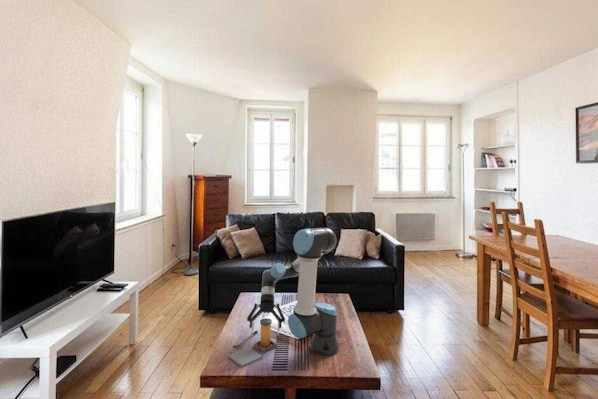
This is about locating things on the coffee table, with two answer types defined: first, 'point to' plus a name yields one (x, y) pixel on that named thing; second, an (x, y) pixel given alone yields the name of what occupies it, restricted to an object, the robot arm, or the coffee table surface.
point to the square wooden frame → (265, 348)
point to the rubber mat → (245, 357)
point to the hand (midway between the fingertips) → (265, 334)
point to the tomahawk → (245, 340)
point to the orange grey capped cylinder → (265, 332)
